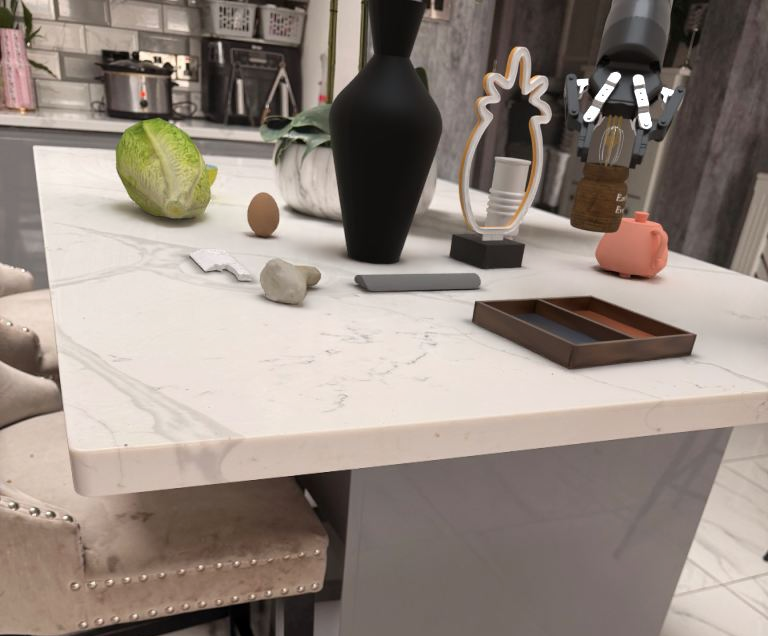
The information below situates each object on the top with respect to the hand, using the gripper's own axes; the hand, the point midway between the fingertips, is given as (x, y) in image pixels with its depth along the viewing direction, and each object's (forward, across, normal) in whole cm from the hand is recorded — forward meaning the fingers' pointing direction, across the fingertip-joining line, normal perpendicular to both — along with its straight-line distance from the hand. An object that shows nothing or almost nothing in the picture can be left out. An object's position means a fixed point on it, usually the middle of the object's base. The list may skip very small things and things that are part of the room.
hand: (609, 159), depth 86 cm
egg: (-7, -54, +35) cm, 64 cm away
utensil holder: (+4, 0, +7) cm, 8 cm away
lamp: (-12, -16, +41) cm, 46 cm away
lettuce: (-10, -74, +39) cm, 84 cm away
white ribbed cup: (-27, -16, +56) cm, 65 cm away
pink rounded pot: (-19, +9, +48) cm, 52 cm away
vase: (-4, -33, +33) cm, 47 cm away
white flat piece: (+12, -49, +16) cm, 53 cm away
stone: (+17, -35, +11) cm, 40 cm away
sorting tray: (+15, +1, +13) cm, 20 cm away
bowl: (-28, -82, +56) cm, 103 cm away
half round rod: (+6, -22, +22) cm, 32 cm away
